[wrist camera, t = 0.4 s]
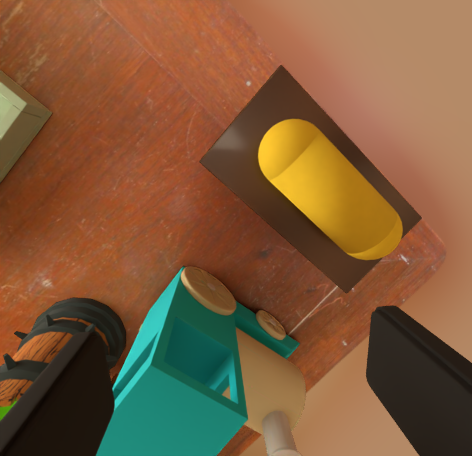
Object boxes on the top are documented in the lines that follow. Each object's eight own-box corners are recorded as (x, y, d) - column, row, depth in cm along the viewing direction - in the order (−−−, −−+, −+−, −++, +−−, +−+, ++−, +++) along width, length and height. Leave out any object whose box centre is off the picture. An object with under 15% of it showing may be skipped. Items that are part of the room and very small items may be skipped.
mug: (14, 344, 28) (-122, 460, 17) (69, 276, 27) (-37, 352, 15) (114, 402, 30) (56, 536, 19) (167, 343, 29) (139, 448, 18)
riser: (204, 165, 25) (198, 161, 17) (257, 102, 25) (281, 63, 16) (306, 256, 28) (347, 294, 20) (357, 203, 28) (423, 218, 19)
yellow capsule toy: (241, 159, 17) (249, 155, 13) (282, 112, 16) (303, 93, 13) (348, 259, 19) (383, 282, 15) (386, 220, 19) (432, 233, 15)
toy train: (261, 380, 32) (301, 559, 17) (147, 311, 28) (75, 459, 14) (301, 333, 31) (381, 481, 16) (188, 257, 27) (159, 353, 13)
